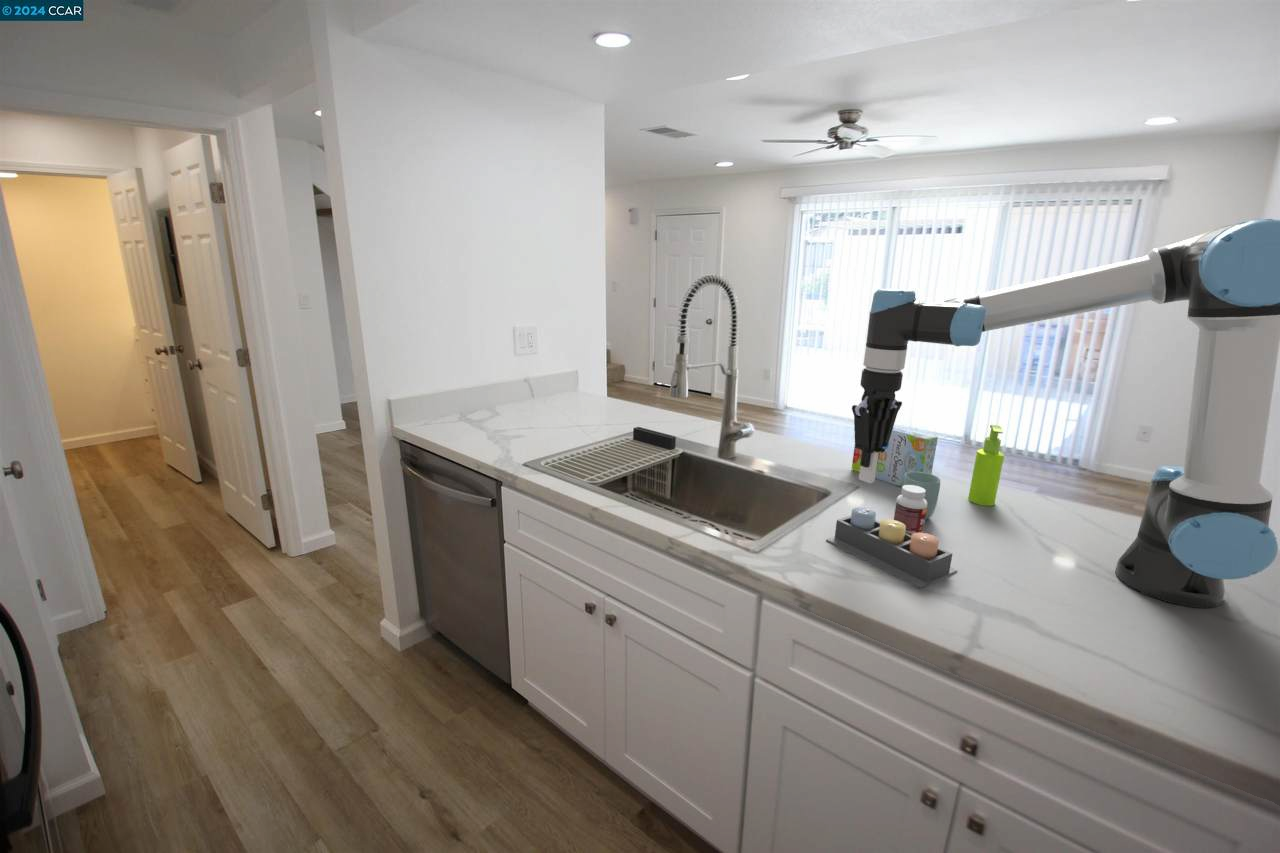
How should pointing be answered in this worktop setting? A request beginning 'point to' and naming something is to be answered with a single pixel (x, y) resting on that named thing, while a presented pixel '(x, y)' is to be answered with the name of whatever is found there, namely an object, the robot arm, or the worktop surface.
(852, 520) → the light blue block
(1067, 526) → the worktop surface
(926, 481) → the cup
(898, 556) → the grey compartment tray
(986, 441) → the soap dispenser
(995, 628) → the worktop surface
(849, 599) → the worktop surface
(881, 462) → the snack box
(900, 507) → the pill bottle
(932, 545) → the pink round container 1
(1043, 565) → the worktop surface
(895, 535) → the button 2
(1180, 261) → the robot arm
